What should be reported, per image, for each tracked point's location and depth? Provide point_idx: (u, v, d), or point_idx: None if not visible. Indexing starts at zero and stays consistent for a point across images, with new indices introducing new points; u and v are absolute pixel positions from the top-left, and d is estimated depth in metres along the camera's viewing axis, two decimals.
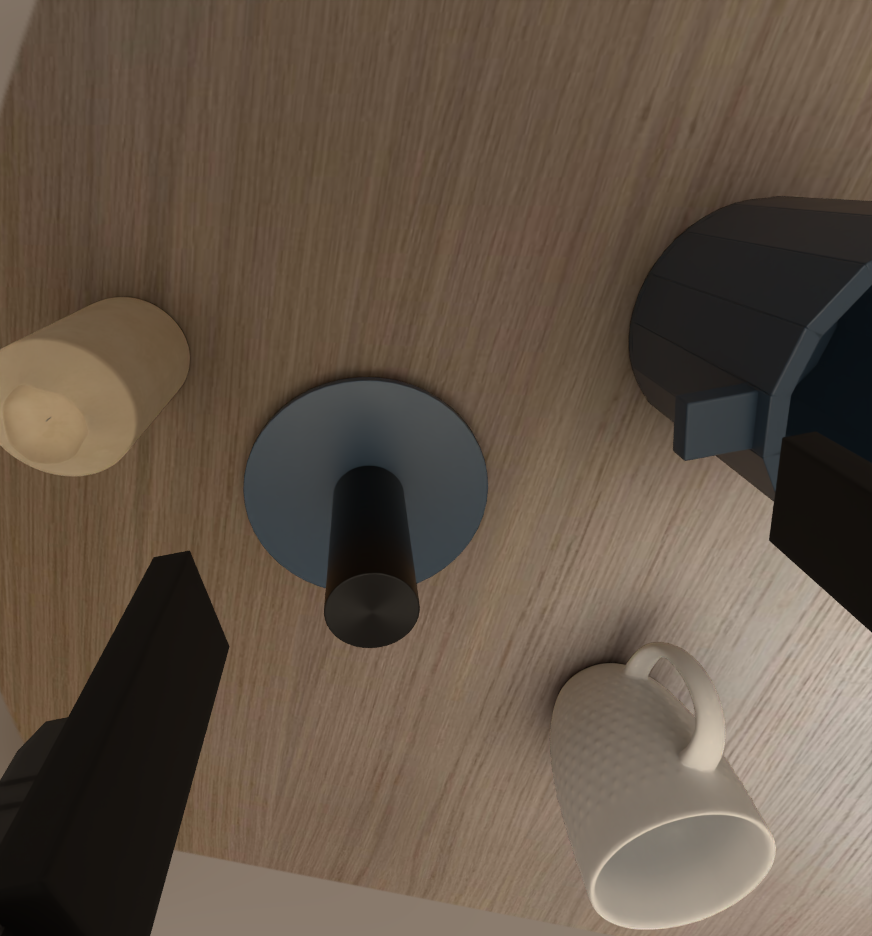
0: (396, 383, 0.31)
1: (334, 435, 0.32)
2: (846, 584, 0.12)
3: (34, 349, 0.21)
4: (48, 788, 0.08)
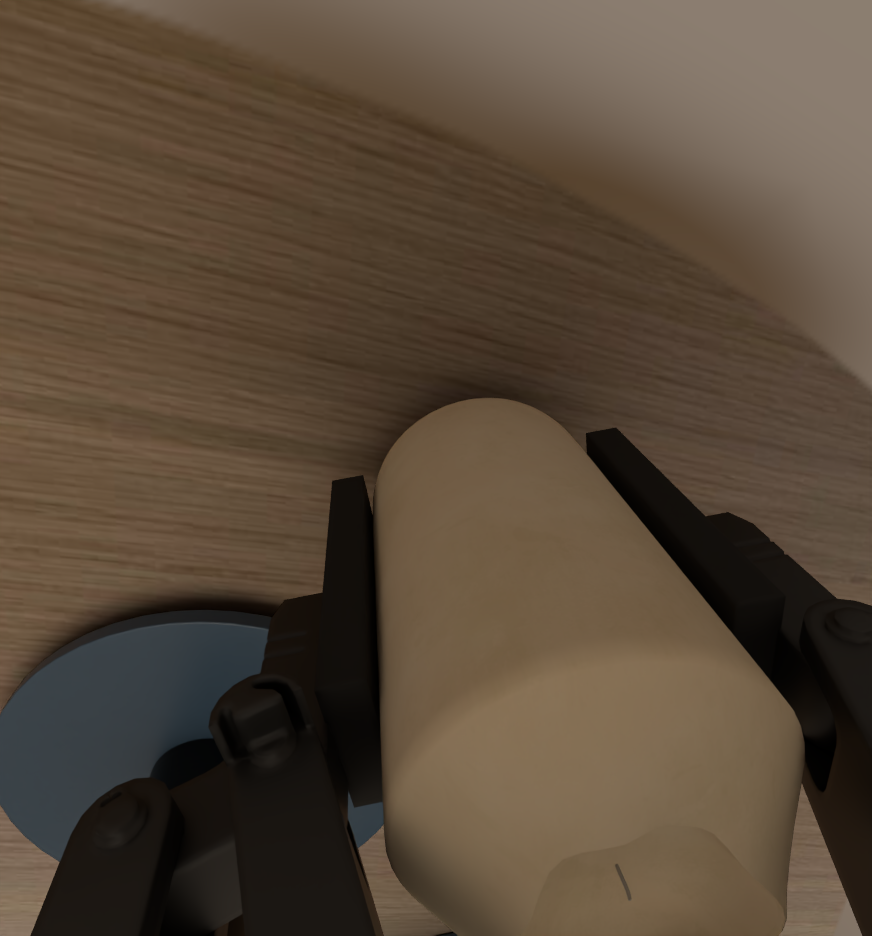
0: None
1: None
2: None
3: None
4: (334, 629, 0.10)
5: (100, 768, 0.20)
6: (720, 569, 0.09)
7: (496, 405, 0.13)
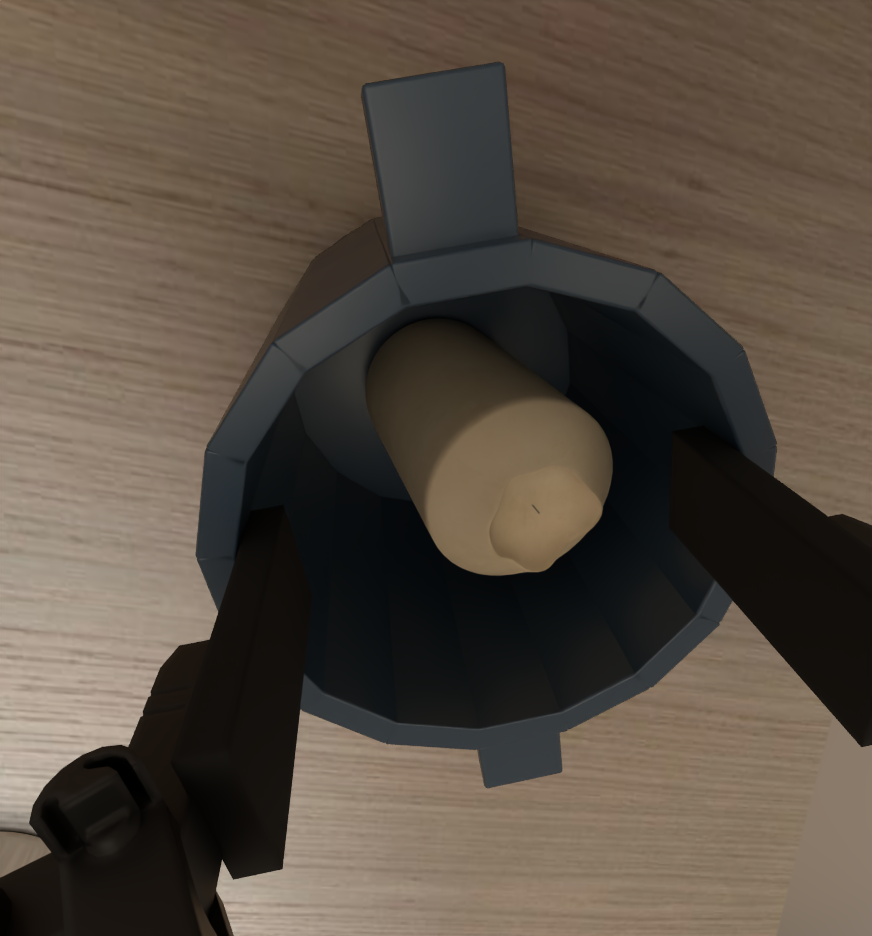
0: None
1: None
2: (721, 565, 0.13)
3: (608, 486, 0.17)
4: (210, 687, 0.09)
5: None
6: (865, 575, 0.09)
7: (442, 321, 0.21)
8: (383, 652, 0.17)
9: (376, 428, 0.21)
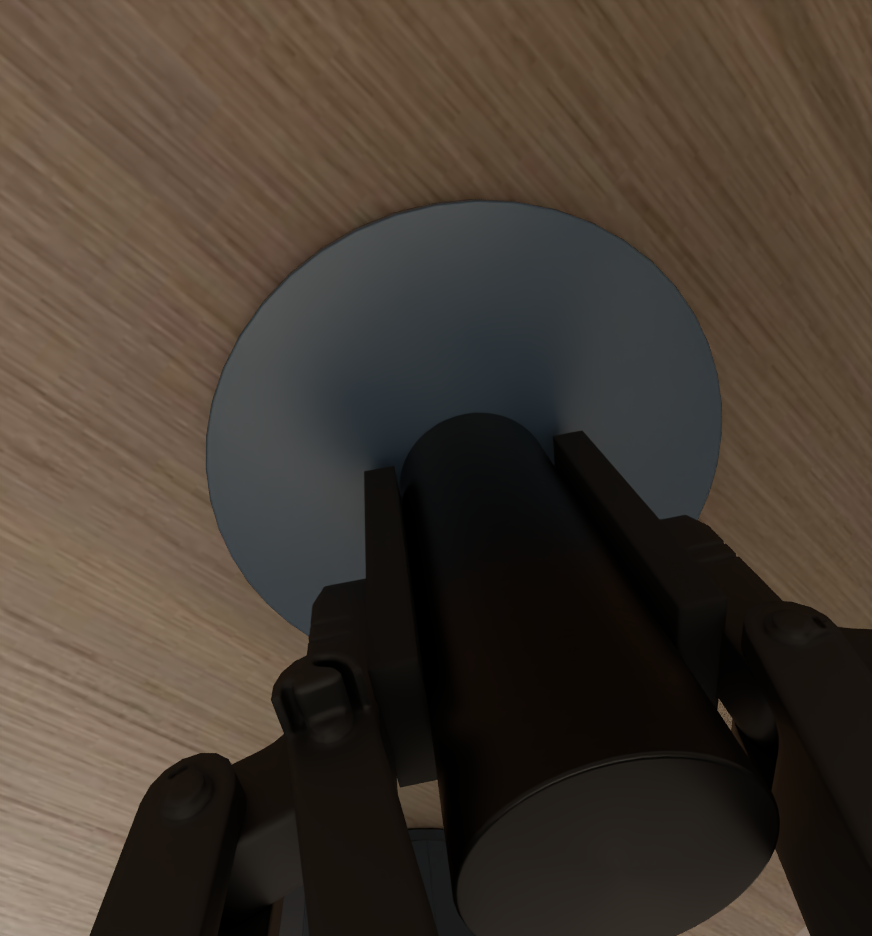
0: None
1: None
2: None
3: None
4: (381, 612, 0.10)
5: (380, 390, 0.15)
6: (667, 571, 0.10)
7: None
8: None
9: None
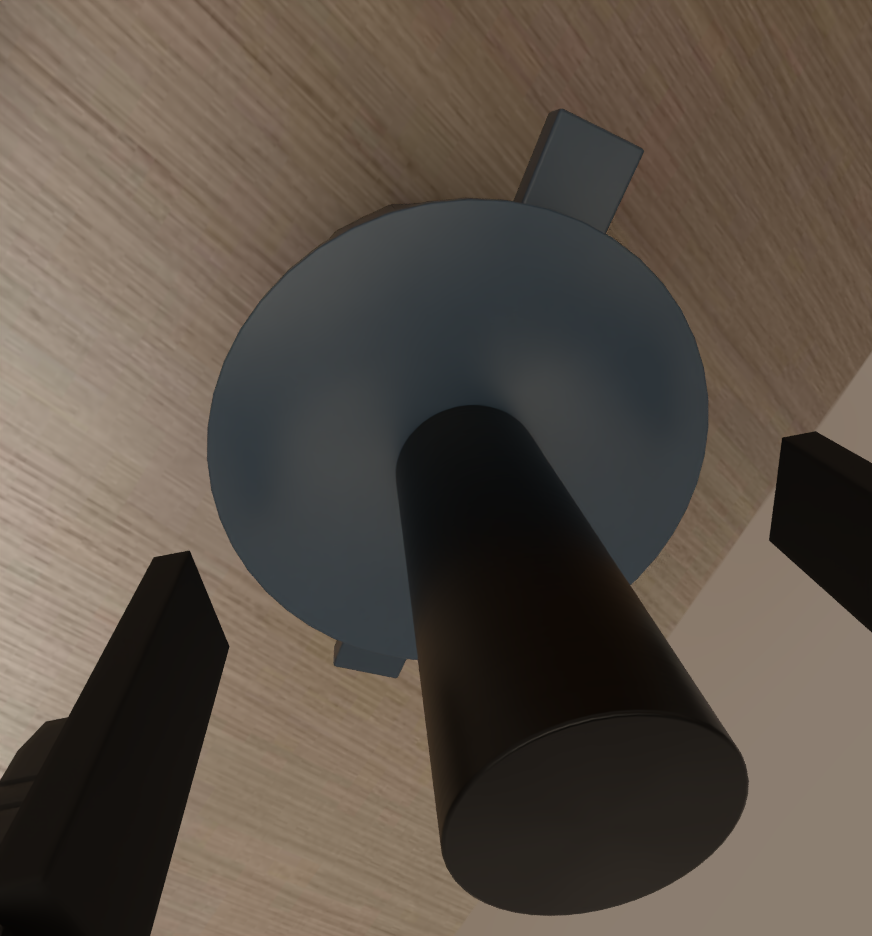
0: None
1: (611, 480, 0.17)
2: (847, 584, 0.12)
3: None
4: (48, 788, 0.08)
5: (376, 383, 0.15)
6: None
7: None
8: None
9: None
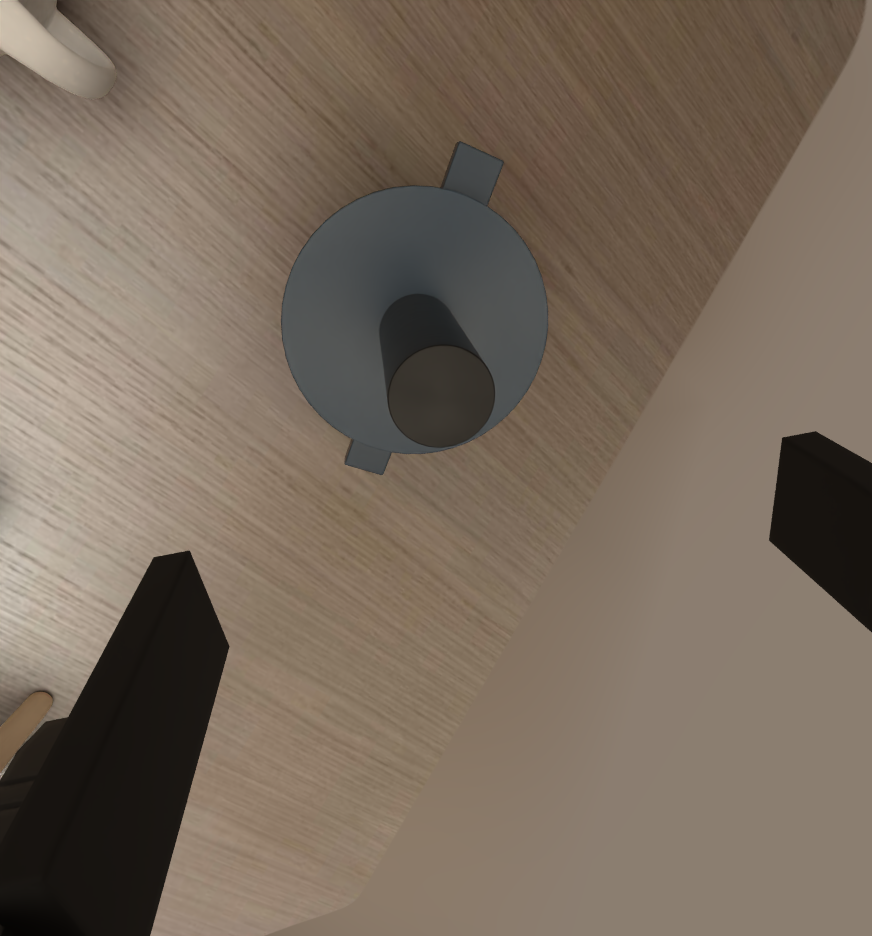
0: (505, 416, 0.33)
1: (497, 340, 0.31)
2: (846, 584, 0.12)
3: None
4: (48, 788, 0.08)
5: (368, 280, 0.29)
6: None
7: None
8: None
9: None
